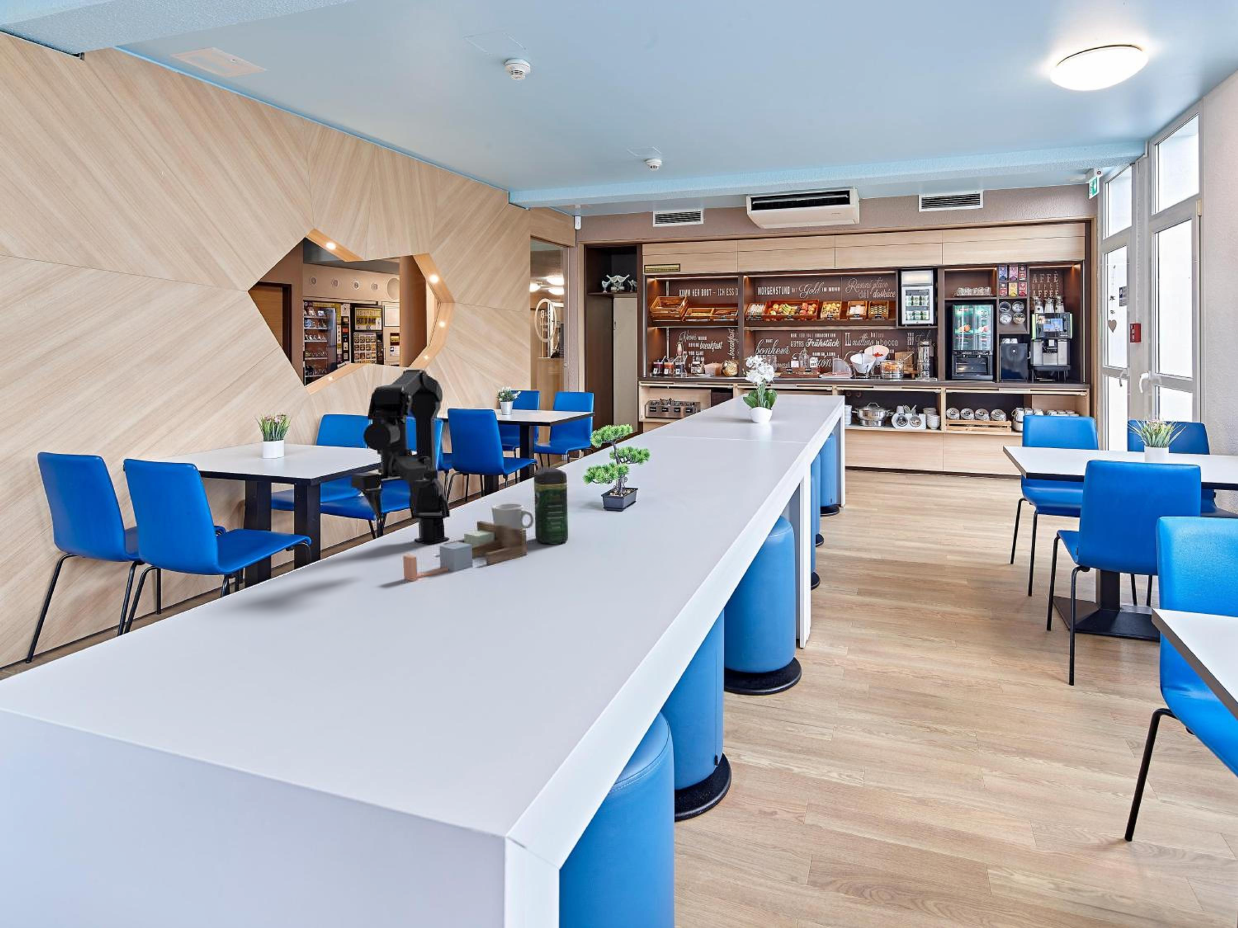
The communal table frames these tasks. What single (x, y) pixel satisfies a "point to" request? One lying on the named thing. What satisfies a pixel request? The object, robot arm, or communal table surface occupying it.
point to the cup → (511, 515)
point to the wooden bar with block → (442, 560)
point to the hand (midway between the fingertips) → (397, 515)
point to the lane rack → (500, 543)
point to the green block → (478, 537)
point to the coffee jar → (550, 505)
